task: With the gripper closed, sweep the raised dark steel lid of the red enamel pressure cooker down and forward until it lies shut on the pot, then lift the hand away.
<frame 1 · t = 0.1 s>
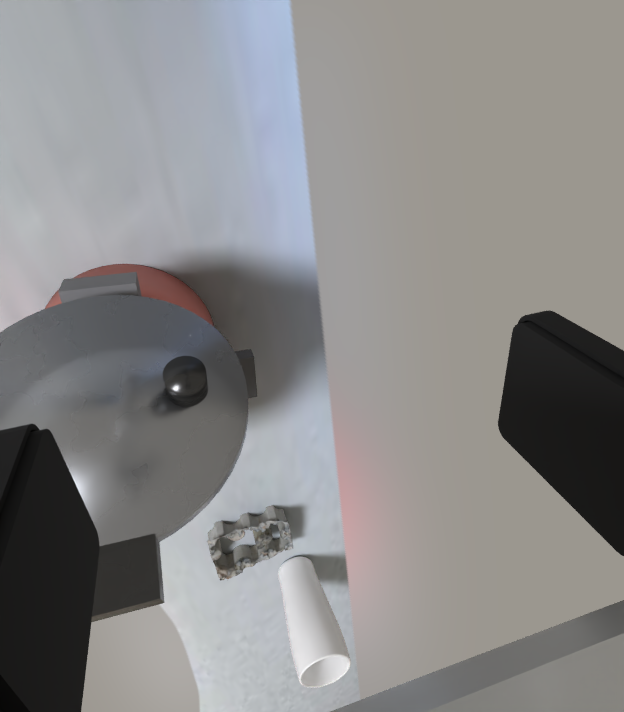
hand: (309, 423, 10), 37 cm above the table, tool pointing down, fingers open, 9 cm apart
egg carton: (247, 527, 64), on the table
cooker pot: (132, 343, 46), on the table
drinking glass: (294, 565, 70), on the table
cooker lid: (97, 420, 26), point 20 cm above the table, hinge at 65.0°
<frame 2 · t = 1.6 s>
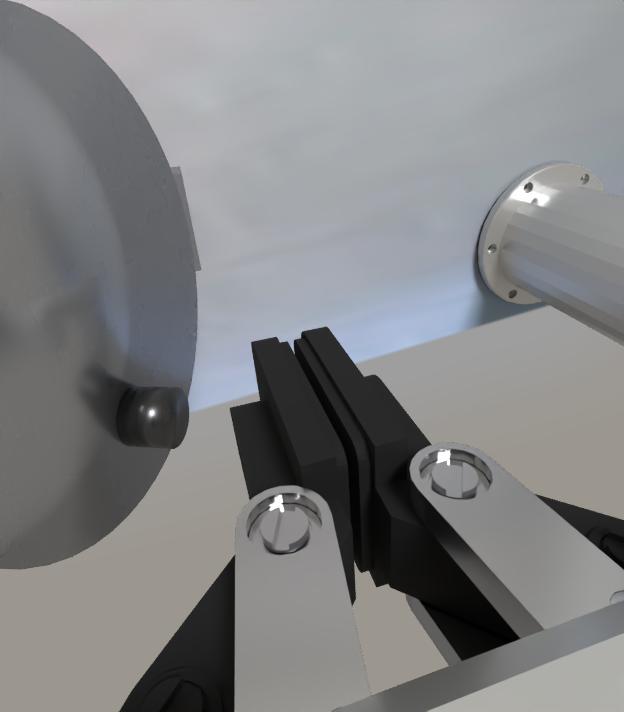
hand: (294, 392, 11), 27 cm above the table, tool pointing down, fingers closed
cooker pot: (33, 208, 31), on the table
cooker lid: (82, 317, 15), point 20 cm above the table, hinge at 65.0°
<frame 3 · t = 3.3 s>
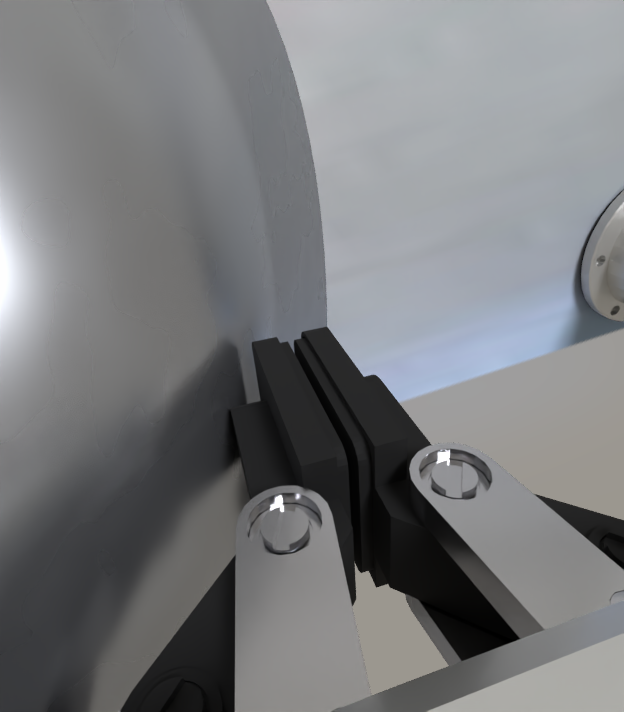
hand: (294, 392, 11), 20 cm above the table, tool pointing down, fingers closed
cooker lid: (260, 407, 10), point 20 cm above the table, hinge at 62.4°, touching gripper
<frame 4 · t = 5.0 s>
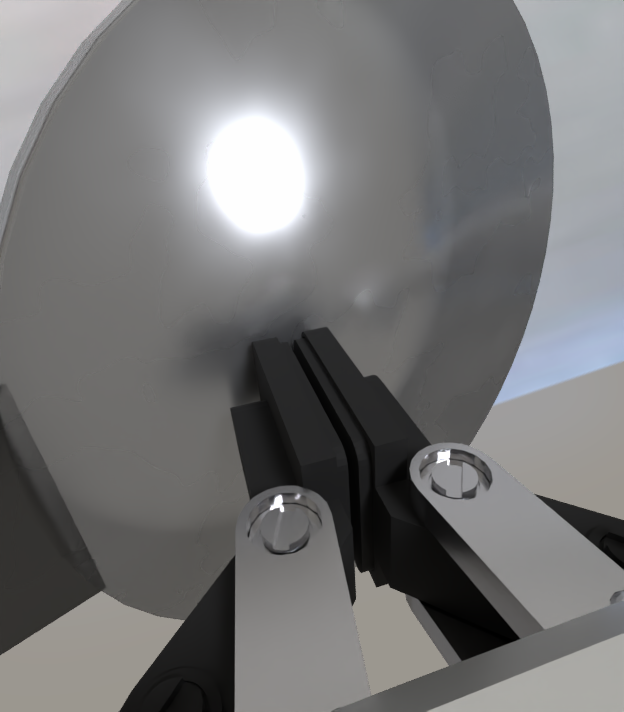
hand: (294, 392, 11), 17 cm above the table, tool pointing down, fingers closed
cooker lid: (353, 359, 12), point 16 cm above the table, hinge at 23.2°, touching gripper
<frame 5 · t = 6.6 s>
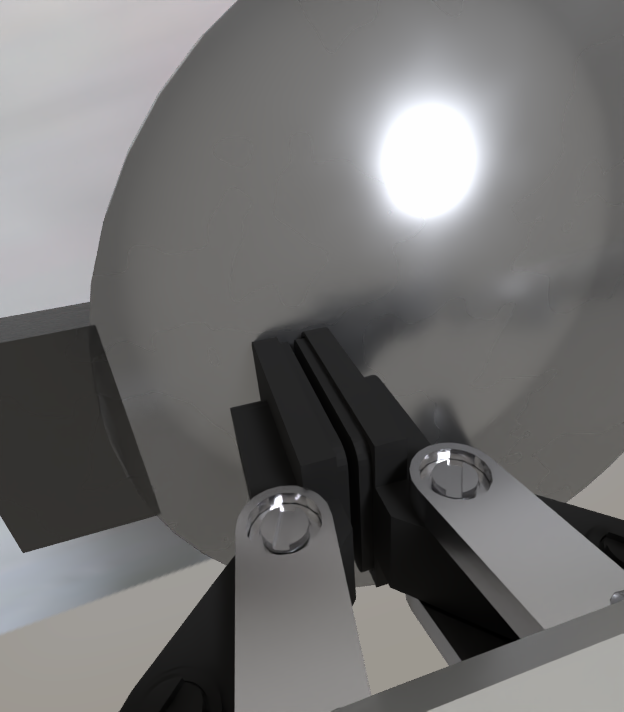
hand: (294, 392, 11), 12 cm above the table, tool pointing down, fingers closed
cooker lid: (431, 366, 11), point 13 cm above the table, hinge at 1.0°, touching gripper
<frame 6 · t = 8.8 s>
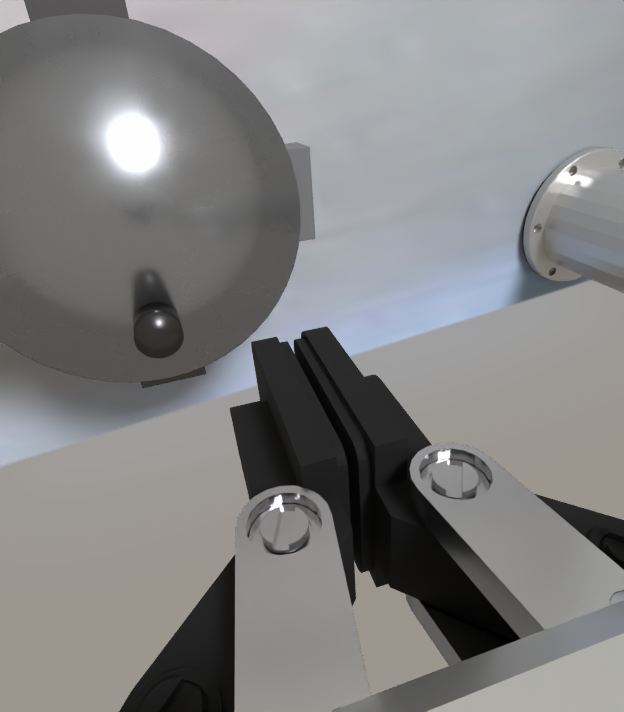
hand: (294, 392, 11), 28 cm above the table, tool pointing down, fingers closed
cooker pot: (132, 185, 33), on the table
cooker lid: (105, 236, 22), point 13 cm above the table, hinge at 1.0°
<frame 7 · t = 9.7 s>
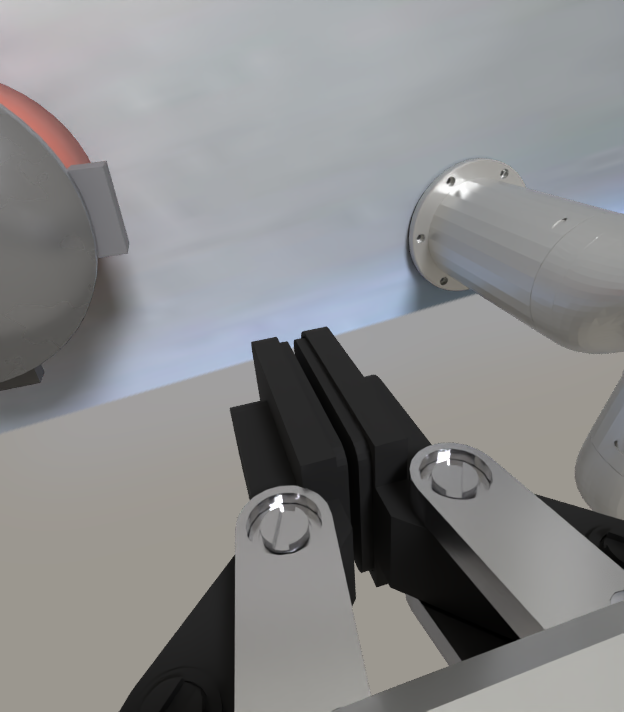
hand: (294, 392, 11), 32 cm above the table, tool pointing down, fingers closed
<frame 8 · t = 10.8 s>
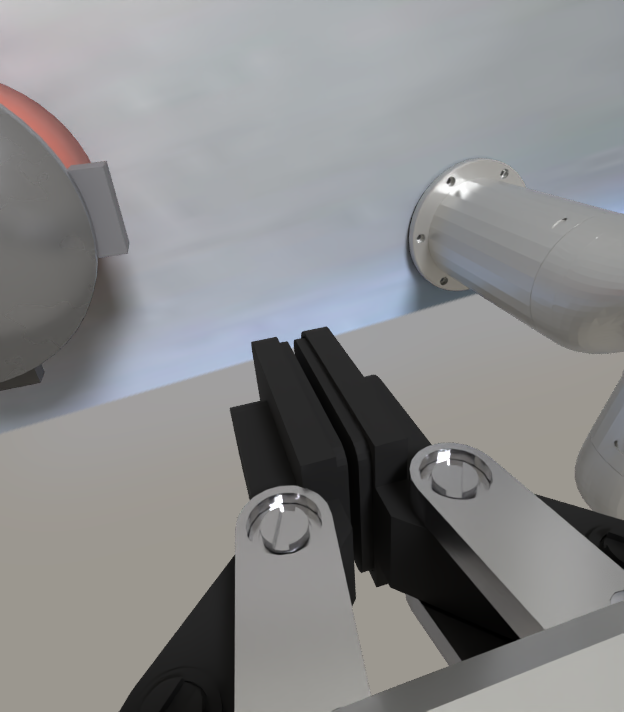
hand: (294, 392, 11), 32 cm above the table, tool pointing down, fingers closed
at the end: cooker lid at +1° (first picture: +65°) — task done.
